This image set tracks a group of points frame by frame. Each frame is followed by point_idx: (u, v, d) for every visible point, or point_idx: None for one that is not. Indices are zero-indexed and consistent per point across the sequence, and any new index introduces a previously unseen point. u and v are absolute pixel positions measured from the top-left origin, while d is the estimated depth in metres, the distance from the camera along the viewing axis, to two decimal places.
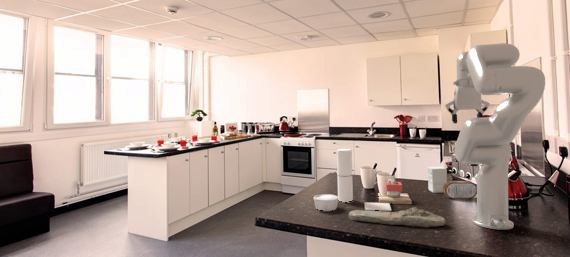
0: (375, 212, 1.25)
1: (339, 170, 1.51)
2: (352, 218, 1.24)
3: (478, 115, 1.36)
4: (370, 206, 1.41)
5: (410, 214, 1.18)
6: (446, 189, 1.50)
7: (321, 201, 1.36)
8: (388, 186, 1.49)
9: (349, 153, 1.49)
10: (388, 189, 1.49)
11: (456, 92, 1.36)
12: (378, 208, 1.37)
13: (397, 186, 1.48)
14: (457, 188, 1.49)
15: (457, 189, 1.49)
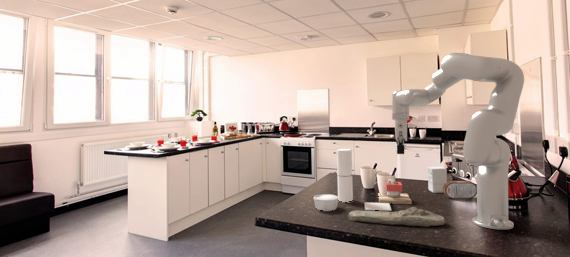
0: (375, 212, 1.25)
1: (339, 170, 1.51)
2: (352, 219, 1.23)
3: None
4: (370, 206, 1.41)
5: (410, 214, 1.19)
6: (446, 189, 1.50)
7: (321, 201, 1.36)
8: (388, 186, 1.49)
9: (349, 153, 1.49)
10: (388, 189, 1.49)
11: (404, 125, 1.44)
12: (378, 208, 1.37)
13: (397, 186, 1.48)
14: (457, 188, 1.49)
15: (457, 189, 1.49)
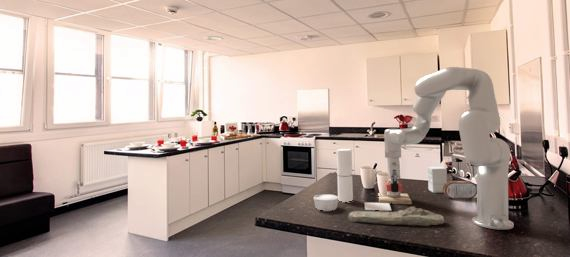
0: (375, 213, 1.24)
1: (339, 170, 1.51)
2: (353, 219, 1.22)
3: None
4: (370, 206, 1.41)
5: (410, 213, 1.19)
6: (446, 189, 1.50)
7: (321, 201, 1.36)
8: (388, 186, 1.49)
9: (349, 153, 1.49)
10: (388, 189, 1.49)
11: (398, 163, 1.46)
12: (378, 208, 1.37)
13: None
14: (457, 188, 1.49)
15: (457, 189, 1.49)
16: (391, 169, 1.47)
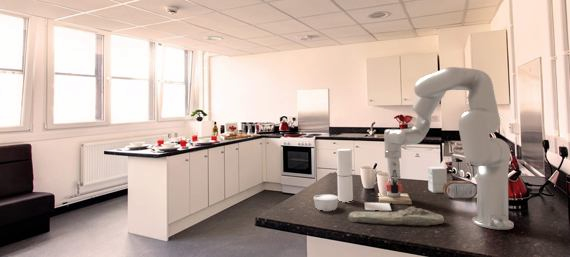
0: (374, 213, 1.24)
1: (339, 170, 1.51)
2: (353, 220, 1.22)
3: None
4: (370, 206, 1.41)
5: (410, 213, 1.19)
6: (446, 189, 1.50)
7: (321, 201, 1.36)
8: (388, 186, 1.49)
9: (349, 153, 1.49)
10: (388, 189, 1.49)
11: (398, 163, 1.46)
12: (378, 208, 1.37)
13: None
14: (457, 188, 1.49)
15: (457, 189, 1.49)
16: (391, 169, 1.47)
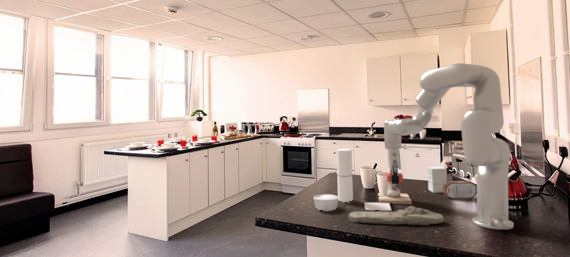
0: (374, 213, 1.24)
1: (339, 170, 1.51)
2: (353, 220, 1.21)
3: None
4: (370, 206, 1.41)
5: (410, 213, 1.20)
6: (446, 189, 1.50)
7: (321, 201, 1.36)
8: (389, 177, 1.48)
9: (349, 153, 1.49)
10: (389, 180, 1.48)
11: (398, 153, 1.46)
12: (378, 208, 1.37)
13: None
14: (457, 188, 1.49)
15: (457, 189, 1.49)
16: (391, 160, 1.46)
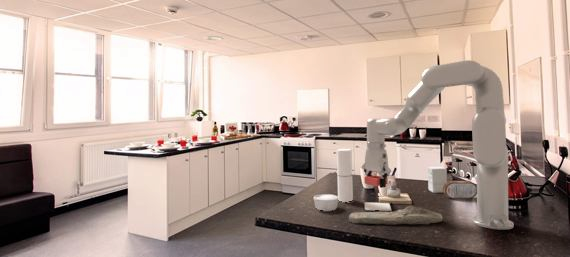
0: (374, 213, 1.24)
1: (339, 170, 1.51)
2: (354, 221, 1.20)
3: None
4: (370, 206, 1.41)
5: (410, 212, 1.20)
6: (446, 189, 1.50)
7: (321, 201, 1.36)
8: (377, 181, 1.36)
9: (349, 153, 1.49)
10: (377, 184, 1.36)
11: (386, 155, 1.37)
12: (378, 208, 1.37)
13: None
14: (457, 188, 1.49)
15: (457, 189, 1.49)
16: (382, 162, 1.35)
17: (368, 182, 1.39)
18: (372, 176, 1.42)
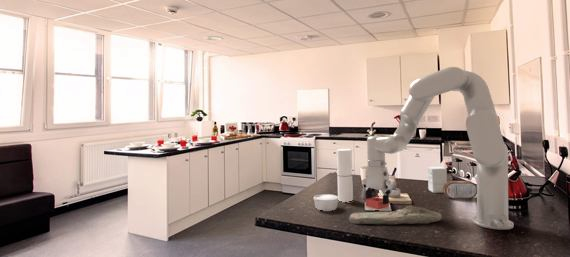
0: (374, 213, 1.23)
1: (339, 170, 1.51)
2: (355, 222, 1.19)
3: (369, 192, 1.44)
4: None
5: (410, 212, 1.21)
6: (446, 189, 1.50)
7: (321, 201, 1.36)
8: (379, 204, 1.36)
9: (349, 153, 1.49)
10: (379, 207, 1.36)
11: (387, 172, 1.37)
12: None
13: None
14: (457, 188, 1.49)
15: (457, 189, 1.49)
16: (383, 180, 1.35)
17: (370, 205, 1.40)
18: (373, 198, 1.42)
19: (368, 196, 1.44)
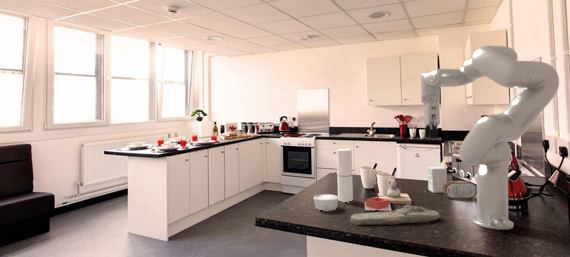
0: (374, 214, 1.23)
1: (339, 170, 1.51)
2: (357, 223, 1.18)
3: (429, 130, 1.45)
4: None
5: (409, 211, 1.21)
6: (446, 189, 1.50)
7: (321, 201, 1.36)
8: (379, 204, 1.36)
9: (349, 153, 1.49)
10: (379, 207, 1.36)
11: (437, 107, 1.36)
12: None
13: (385, 202, 1.38)
14: (457, 188, 1.49)
15: (457, 189, 1.49)
16: (430, 114, 1.36)
17: (370, 205, 1.40)
18: (373, 198, 1.42)
19: (427, 133, 1.46)
